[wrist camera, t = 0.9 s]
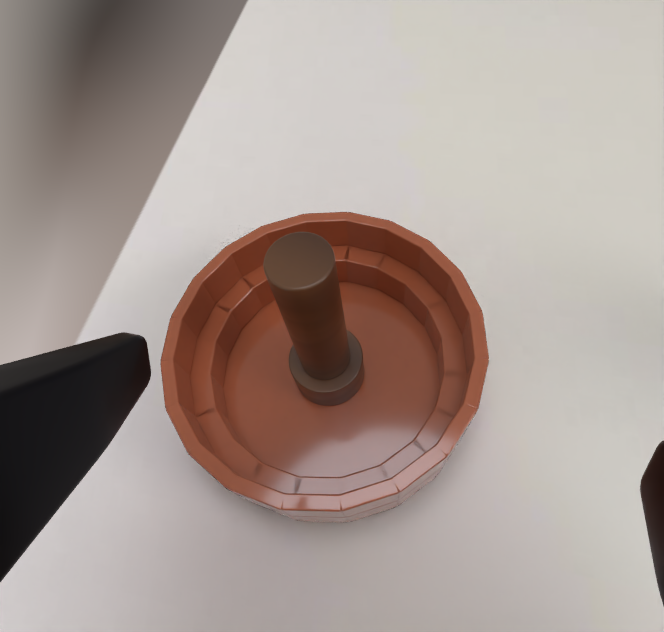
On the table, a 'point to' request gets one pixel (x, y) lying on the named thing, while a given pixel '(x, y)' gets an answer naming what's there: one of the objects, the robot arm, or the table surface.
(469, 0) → the table surface
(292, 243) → the grey flanged cylindrical pin
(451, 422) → the bowl
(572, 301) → the table surface
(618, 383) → the table surface
